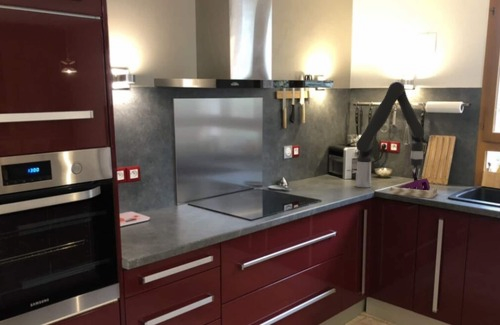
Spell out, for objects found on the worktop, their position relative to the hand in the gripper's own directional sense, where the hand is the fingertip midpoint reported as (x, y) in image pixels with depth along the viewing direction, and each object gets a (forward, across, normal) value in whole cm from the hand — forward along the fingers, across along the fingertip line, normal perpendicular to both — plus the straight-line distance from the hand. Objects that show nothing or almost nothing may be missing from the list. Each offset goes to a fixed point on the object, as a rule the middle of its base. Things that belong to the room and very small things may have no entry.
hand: (415, 184), depth 292 cm
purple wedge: (+5, +6, -1) cm, 7 cm away
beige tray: (+4, +12, +1) cm, 13 cm away
